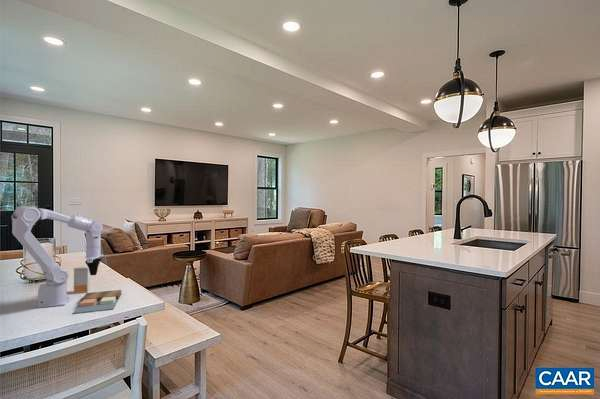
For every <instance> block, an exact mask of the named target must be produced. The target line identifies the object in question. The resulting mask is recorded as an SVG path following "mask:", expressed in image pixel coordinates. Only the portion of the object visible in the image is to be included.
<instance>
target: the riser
mask: <svg viewBox="0 0 600 399" xmlns="http://www.w3.org/2000/svg"><path fill="white" fill-rule="evenodd" d="M114 296H116V300H117V299H118V301H119V299H120V298H121V296H122V289H115V290H104V291H94V292H85V294H84V296H83V297H82V298H80V300H81V301H80V303H81V302H82V301H83V300H85V299H95V298H97V301H101V299H102V298H104V297H114Z"/></svg>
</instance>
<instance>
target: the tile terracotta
mask: <svg viewBox="0 0 600 399" xmlns="http://www.w3.org/2000/svg"><path fill="white" fill-rule="evenodd" d="M96 302H97V298H95V299H85V300H83V301H82V302H81V301H80V303H79V305H80V307H86V306H94V305H95V304H96Z"/></svg>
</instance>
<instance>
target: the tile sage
mask: <svg viewBox="0 0 600 399" xmlns="http://www.w3.org/2000/svg"><path fill="white" fill-rule="evenodd" d="M115 300H116V296H114V297H104V298H102V299H101V301H100V305H103V304H113V303H114V302H115Z"/></svg>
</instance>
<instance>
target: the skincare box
mask: <svg viewBox="0 0 600 399" xmlns="http://www.w3.org/2000/svg"><path fill="white" fill-rule="evenodd" d="M91 290H92V275H90V272H89V268H88V266H87V265H85V266H83V265H82V266H76V267H74V268H73V294H81V293H82V294H83V293H90V291H91Z"/></svg>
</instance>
